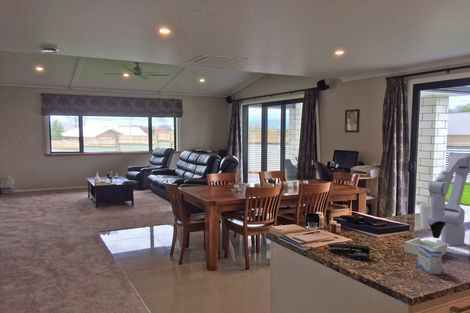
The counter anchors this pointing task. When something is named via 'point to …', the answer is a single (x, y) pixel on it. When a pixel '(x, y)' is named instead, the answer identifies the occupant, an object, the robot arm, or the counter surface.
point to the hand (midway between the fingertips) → (436, 237)
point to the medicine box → (429, 259)
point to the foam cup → (425, 215)
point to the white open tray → (413, 247)
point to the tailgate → (430, 243)
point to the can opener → (356, 254)
